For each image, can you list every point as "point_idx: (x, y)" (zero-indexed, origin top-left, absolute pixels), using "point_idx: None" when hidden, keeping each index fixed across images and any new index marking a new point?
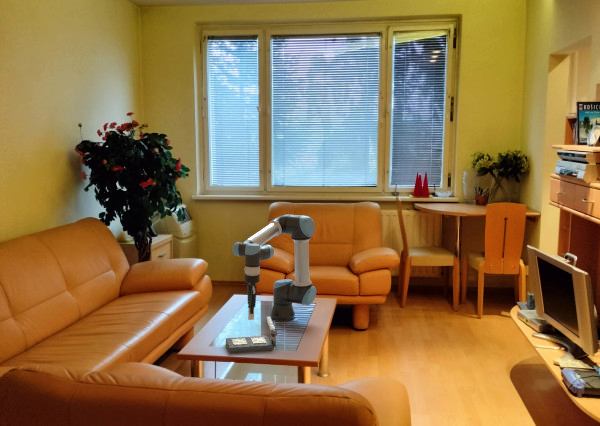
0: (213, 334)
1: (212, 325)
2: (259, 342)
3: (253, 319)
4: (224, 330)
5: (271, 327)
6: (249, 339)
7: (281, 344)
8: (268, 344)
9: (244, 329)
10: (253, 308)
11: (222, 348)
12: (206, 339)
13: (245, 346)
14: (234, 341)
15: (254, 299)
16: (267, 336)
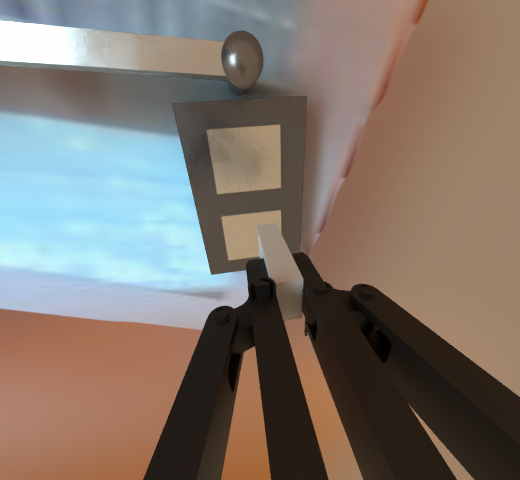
0: (122, 296)
1: (21, 304)
2: (276, 160)
3: (275, 226)
4: (68, 269)
5: (175, 66)
6: (227, 198)
7: (221, 25)
8: (297, 118)
9: (23, 197)
10: (299, 276)
11: None
12: (172, 308)
13: (299, 217)
14: (252, 251)
15: (494, 398)
16: (185, 103)
